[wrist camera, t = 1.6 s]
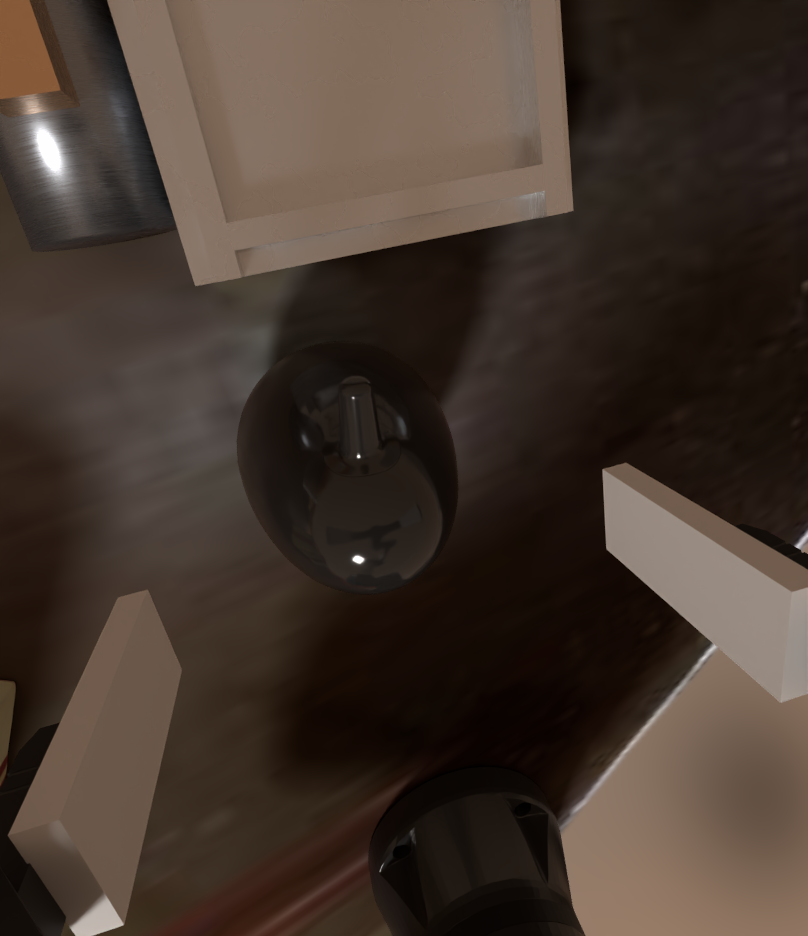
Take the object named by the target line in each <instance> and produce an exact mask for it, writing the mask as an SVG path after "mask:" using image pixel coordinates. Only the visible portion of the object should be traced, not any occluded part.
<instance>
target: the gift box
mask: <svg viewBox="0 0 808 936" xmlns="http://www.w3.org/2000/svg"><path fill="white" fill-rule="evenodd" d="M15 691H16V685H15V682H14V681H8V680H0V788H1V786H2V784H3V782H4V780H5V778H6V770H7V760H8V747H9V739H10V732H11V725H12V717H13V708H14V701H15Z"/></svg>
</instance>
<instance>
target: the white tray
mask: <svg viewBox="0 0 808 936" xmlns="http://www.w3.org/2000/svg"><path fill="white" fill-rule="evenodd" d="M0 173H1V175H2V177H3V180H4V182H5V185H6V187H7V190H8V192H9V195H10V197H11V200H12V202H13V205H14V207H15V210H16V212H17V215H18V217H19V220H20V222H21V225H22V227H23V230H24V232H25V234H26V237H27V239H28V242H29V244H30V247H31V249H32V251H36V252H47V251H61V250H70V249H78V248H86V247H93V246H100V245H106V244H112V243H118V242H124V241H129V240H135V239H140V238H144V237H149V236H154V235H158V234H162V233H166V232H170V231H173V230H176V229H178V232H179V235H180V238H181V241H182V245H183V248H184V251H185V254H186V258H187V261H188V264H189V267H190V271H191V274H192V277H193V280H194V284H195V286H199V285H204V284H209V283H214V282H221V281H226V280H231V279H236V278H241V277H244V276H249V275H254V274H259V273H264V272H269V271H274V270H279V269H284V268H289V267H294V266H299V265H304V264H309V263H314V262H319V261H324V260H329V259H334V258H339V257H344V256H349V255H354V254H359V253H364V252H369V251H374V250H379V249H384V248H389V247H394V246H400V245H405V244H410V243H415V242H420V241H425V240H430V239H435V238H440V237H445V236H450V235H455V234H460V233H465V232H470V231H475V230H480V229H485V228H490V227H495V226H500V225H505V224H510V223H515V222H520V221H525V220H530V219H535V218H541V217H547V216H552V215H557V214H562V213H567V212H570V211H573V198H572V182H571V166H570V151H569V135H568V119H567V104H566V88H565V72H564V56H563V41H562V25H561V9H560V0H0Z"/></svg>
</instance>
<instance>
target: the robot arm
mask: <svg viewBox="0 0 808 936" xmlns="http://www.w3.org/2000/svg"><path fill="white" fill-rule="evenodd" d="M602 470H603V491H604V512H605V533H606V549H607V550H608V551H609V552H610V553H611V554H613V555H614V556H615V557H616V558H617V559H618V560H619V561H621V562H622V563H623V564H624V565H625V566H626V567H627V568H628V569H630V570H631V571H632V572H633V573H634V574H635V575H636V576H637V577H639V578H640V579H641V580H642V581H643V582H644V583H645V584H647V585H648V586H649V587H650V588H651V589H652V590H653V591H654V592H656V593H657V594H658V595H659V596H660V597H661V598H662V599H664V600H665V601H666V602H667V603H668V604H669V605H670V606H671V607H673V608H674V609H675V610H676V611H677V612H678V613H679V614H681V615H682V616H683V617H684V618H685V619H686V620H687V621H688V622H690V623H691V624H692V625H693V626H694V627H695V628H696V629H697V630H699V631H700V632H701V633H702V634H703V635H704V636H705V637H707V638H708V639H709V640H710V641H711V642H712V643H713V644H714V645H716V646H717V647H718V648H719V649H720V650H721V651H722V652H724V653H725V654H726V655H727V656H728V657H729V658H731V660H733V661H734V662H735V663H736V664H737V665H738V666H739V667H741V668H742V669H743V670H744V671H745V672H746V673H748V675H750V676H751V677H752V678H753V679H754V680H755V681H757V682H758V683H759V684H760V685H761V686H762V687H763V688H764V689H765V690H767V691H768V692H769V693H770V694H771V695H772V696H773V697H775V698H776V699H777V700H778V701H779V702H780V703H782V702H784V701H787V700H790V699H793V698H796V697H799V696H802V695H805V694H808V554H807V553H805V552H804V553H802V552H801V550H800V549H798V548H796V547H794V546H792V545H791V544H786V543H785V541H784V540H782V539H780V538H778V537H776V536H775V535H773V534H771V533H769V532H767V531H765V530H762V529H758V528H755V527H751V526H748V525H745V524H740V525H737V526H733V525H731V524H729V523H728V522H726V521H724V520H723V519H721V518H719V517H717V516H716V515H714V514H712V513H711V512H709V511H707V510H706V509H704V508H702V507H700V506H699V505H697V504H695V503H694V502H692V501H690V500H689V499H687V498H685V497H683V496H682V495H680V494H678V493H677V492H675V491H673V490H672V489H670V488H668V487H666V486H665V485H663V484H661V483H660V482H658V481H656V480H654V479H653V478H651V477H649V476H648V475H646V474H644V473H643V472H641V471H639V470H637V469H636V468H634V467H632V466H631V465H629V464H627V463H624V464H620V465H616V466H612V467H609V468H605V469H602ZM181 672H182V669H181V667H180V664H179V662H178V660H177V657H176V655H175V653H174V650H173V648H172V645H171V643H170V641H169V638H168V636H167V634H166V631H165V629H164V627H163V624H162V622H161V620H160V617H159V615H158V613H157V610H156V608H155V606H154V603H153V601H152V599H151V596H150V594H149V592H148V590H145V591H141V592H137V593H133V594H129V595H126V596H122V597H118V599H117V601H116V603H115V605H114V607H113V609H112V612H111V614H110V616H109V618H108V620H107V622H106V624H105V627H104V629H103V631H102V633H101V635H100V637H99V640H98V642H97V644H96V646H95V648H94V650H93V653H92V655H91V657H90V659H89V661H88V663H87V666H86V668H85V670H84V672H83V674H82V676H81V679H80V681H79V683H78V685H77V687H76V689H75V691H74V694H73V696H72V698H71V700H70V702H69V704H68V707H67V709H66V711H65V713H64V715H63V717H62V720H61V722H60V723H57V724H54V725H50V726H47V727H43V728H40V729H39V730H38V731H37V732H36V733H35V734H34V736H33V737H32V738H31V739H30V740H29V741H28V742H27V743H26V744H25V746H24V747H23V748H22V749H21V750H20V751H19V753H18V755H17V757H16V759H15V761H14V763H13V764H12V766H11V768H10V770H9V772H8V778H5V780H4V782H3V784H2V786H1V788H0V936H61V932H62V929H63V926H64V923H65V921H66V922H67V924H68V925H69V927H70V928H71V929H72V931H73V932H74V934H75V935H76V936H93V935H96V934H99V933H102V932H105V931H108V930H111V929H114V928H117V927H120V926H123V925H124V923H125V919H126V915H127V910H128V906H129V901H130V897H131V893H132V888H133V884H134V879H135V875H136V870H137V866H138V862H139V857H140V853H141V848H142V844H143V840H144V835H145V831H146V826H147V822H148V818H149V813H150V809H151V804H152V800H153V795H154V791H155V787H156V782H157V778H158V773H159V769H160V765H161V760H162V756H163V751H164V747H165V743H166V738H167V734H168V729H169V725H170V720H171V716H172V712H173V707H174V703H175V698H176V694H177V690H178V685H179V681H180V676H181ZM368 863H369V870H370V876H371V882H372V889H373V893H374V897H375V900H376V903H377V906H378V908H379V910H380V912H381V914H382V916H383V917H384V919H385V921H386V923H387V925H388V927H389V929H390V931H391V933H392V935H393V936H585V934H584V932H583V930H582V927H581V925H580V923H579V921H578V919H577V917H576V914H575V912H574V909H573V906H572V899H571V893H570V888H569V881H568V876H567V869H566V864H565V857H564V852H563V846H562V840H561V834H560V829H559V826H558V822H557V820H556V817H555V815H554V813H553V811H552V809H551V807H550V805H549V803H548V801H547V799H546V797H545V795H544V794H543V792H542V790H541V789H540V788H539V787H538V785H537V784H536V783H534V782H533V781H532V780H531V779H529V778H528V777H526V776H524V775H522V774H520V773H518V772H515V771H512V770H509V769H504V768H498V767H475V768H467V769H462V770H458V771H454V772H451V773H447V774H445V775H442V776H439V777H437V778H434V779H432V780H430V781H428V782H426V783H424V784H423V785H421V786H419V787H417V788H416V789H414V790H413V791H411V792H410V793H408V794H407V795H406V796H405V797H403V798H402V799H401V800H400V801H399V802H398V803H396V804H395V805H394V806H393V807H392V808H391V809H390V811H389V812H388V813H387V814H386V815H385V817H384V818H383V819H382V821H381V822H380V824H379V825H378V827H377V829H376V831H375V833H374V835H373V838H372V840H371V844H370V848H369V855H368Z"/></svg>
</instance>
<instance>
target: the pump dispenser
mask: <svg viewBox="0 0 808 936" xmlns="http://www.w3.org/2000/svg"><path fill="white" fill-rule="evenodd" d="M237 459H238V466H239V471H240V475H241V479H242V482H243V486H244V489H245V492H246V495H247V497H248V500H249V503H250V505H251V507H252V509H253V511H254V513H255V515H256V517H257V519H258V521H259V522H260V524H261V526H262V527H263V529H264V530H265V532H266V533H267V535H268V536H269V537H270V539H271V540H272V542H273V543H274V544H275V545H276V547H277V548H278V549H279V550H280V552H281V553H282V554H283V555H284V556H285V557H286V558H287V559H288V560H289V561H290V562H291V563H292V564H293V565H294V566H295V567H297V568H298V569H299V570H300V571H302V572H303V573H304V574H306V575H307V576H309V577H310V578H312V579H313V580H315V581H317V582H319V583H321V584H323V585H325V586H327V587H330V588H332V589H335V590H338V591H342V592H346V593H352V594H362V595H372V594H381V593H386V592H390V591H393V590H396V589H399V588H401V587H403V586H405V585H407V584H409V583H411V582H412V581H414V580H415V579H417V578H418V577H419V576H420V575H422V574H423V573H424V572H425V571H426V570H427V569H428V568H429V567H430V566H431V565H432V564H433V562H434V561H435V560H436V559H437V557H438V556H439V554H440V553H441V551H442V550H443V548H444V546H445V544H446V542H447V540H448V538H449V535H450V533H451V530H452V527H453V523H454V519H455V515H456V510H457V503H458V470H457V461H456V454H455V448H454V443H453V439H452V435H451V432H450V428H449V425H448V423H447V420H446V418H445V415H444V413H443V411H442V408H441V406H440V404H439V402H438V400H437V399H436V397H435V395H434V393H433V392H432V390H431V389H430V387H429V386H428V385H427V383H426V382H425V381H424V380H423V378H422V377H421V376H420V375H419V374H418V373H417V372H416V371H415V370H414V369H413V368H412V367H410V366H409V365H408V364H407V363H405V362H404V361H403V360H401V359H400V358H398V357H397V356H395V355H393V354H392V353H390V352H388V351H385V350H383V349H381V348H378V347H375V346H372V345H369V344H364V343H359V342H351V341H333V342H325V343H320V344H315V345H312V346H309V347H306V348H303V349H301V350H298V351H296V352H294V353H292V354H290V355H289V356H287V357H285V358H284V359H282V360H281V361H279V362H278V363H277V364H275V365H274V366H273V367H272V368H271V369H270V370H269V371H268V372H267V373H266V374H265V375H264V376H263V377H262V378H261V379H260V380H259V382H258V383H257V384H256V386H255V387H254V389H253V390H252V392H251V394H250V395H249V397H248V399H247V401H246V404H245V406H244V409H243V411H242V415H241V418H240V422H239V427H238V434H237Z"/></svg>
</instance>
